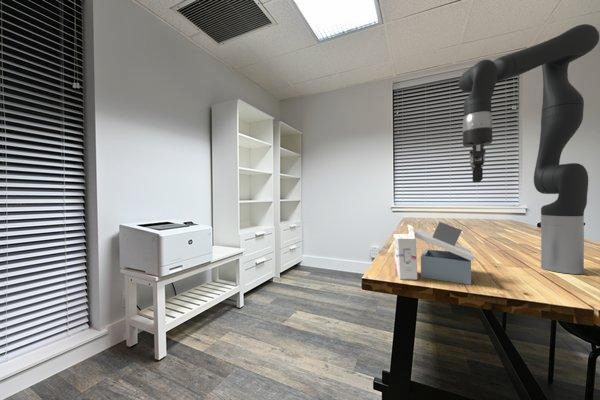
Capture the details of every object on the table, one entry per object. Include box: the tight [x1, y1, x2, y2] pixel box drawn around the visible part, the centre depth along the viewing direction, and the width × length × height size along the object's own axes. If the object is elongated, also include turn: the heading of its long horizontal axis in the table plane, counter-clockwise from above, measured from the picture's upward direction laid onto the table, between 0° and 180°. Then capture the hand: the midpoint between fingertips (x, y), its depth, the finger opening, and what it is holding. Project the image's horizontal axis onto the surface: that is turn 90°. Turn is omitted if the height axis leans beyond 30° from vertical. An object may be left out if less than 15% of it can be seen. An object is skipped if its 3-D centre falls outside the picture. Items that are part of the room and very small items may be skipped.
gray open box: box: [420, 248, 472, 286], centre depth 73 cm, size 12×12×6 cm
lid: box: [414, 221, 476, 262], centre depth 73 cm, size 15×15×6 cm
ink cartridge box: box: [393, 224, 418, 281], centre depth 73 cm, size 9×5×15 cm, turn 167°
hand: (477, 181), depth 77 cm, fingers open, 8 cm apart
